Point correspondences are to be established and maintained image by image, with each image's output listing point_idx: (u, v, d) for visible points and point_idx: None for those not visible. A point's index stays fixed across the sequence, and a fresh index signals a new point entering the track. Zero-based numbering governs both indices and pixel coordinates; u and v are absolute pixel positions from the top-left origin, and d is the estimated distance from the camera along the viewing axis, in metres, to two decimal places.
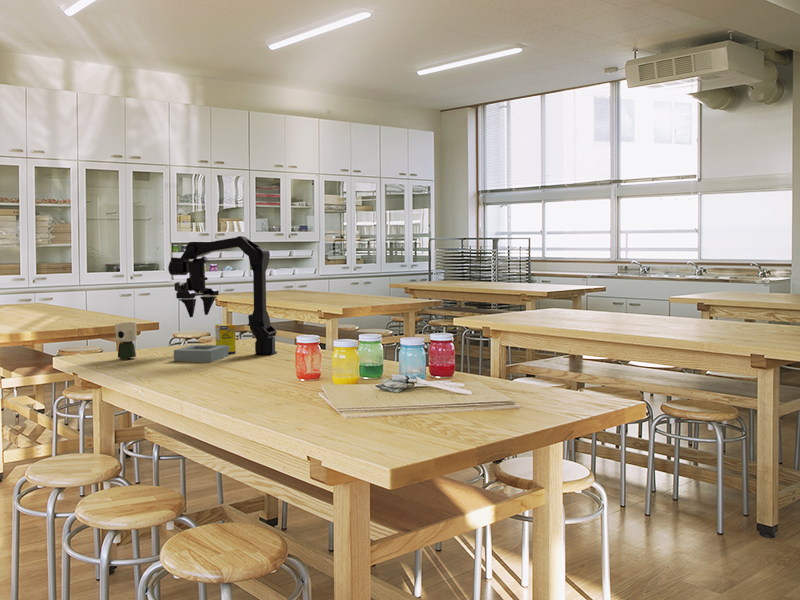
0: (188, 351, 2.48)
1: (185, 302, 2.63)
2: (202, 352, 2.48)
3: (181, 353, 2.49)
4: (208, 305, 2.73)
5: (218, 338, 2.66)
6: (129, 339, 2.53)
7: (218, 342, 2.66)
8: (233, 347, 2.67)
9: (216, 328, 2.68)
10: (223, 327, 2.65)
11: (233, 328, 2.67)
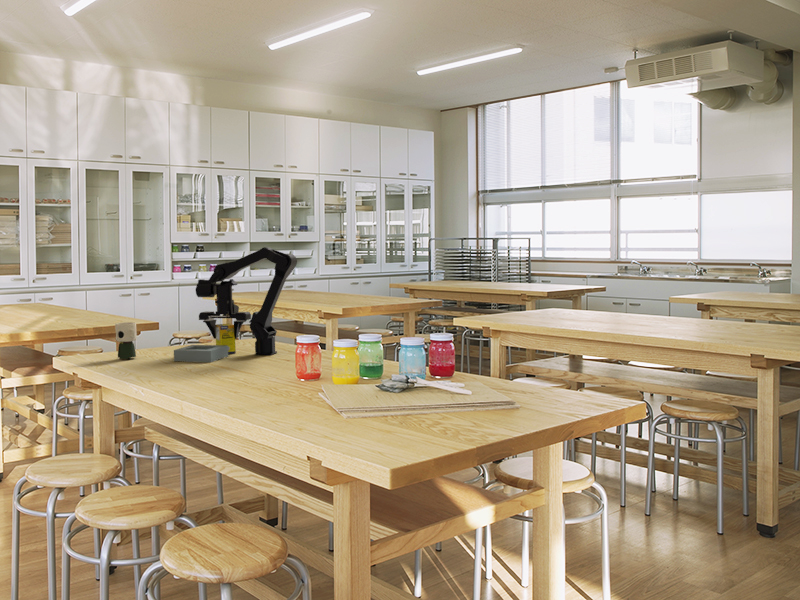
0: (188, 351, 2.48)
1: None
2: (202, 352, 2.48)
3: (181, 353, 2.49)
4: None
5: (218, 338, 2.66)
6: (129, 339, 2.53)
7: (218, 342, 2.66)
8: (233, 347, 2.67)
9: (216, 328, 2.68)
10: (223, 327, 2.65)
11: (233, 328, 2.67)
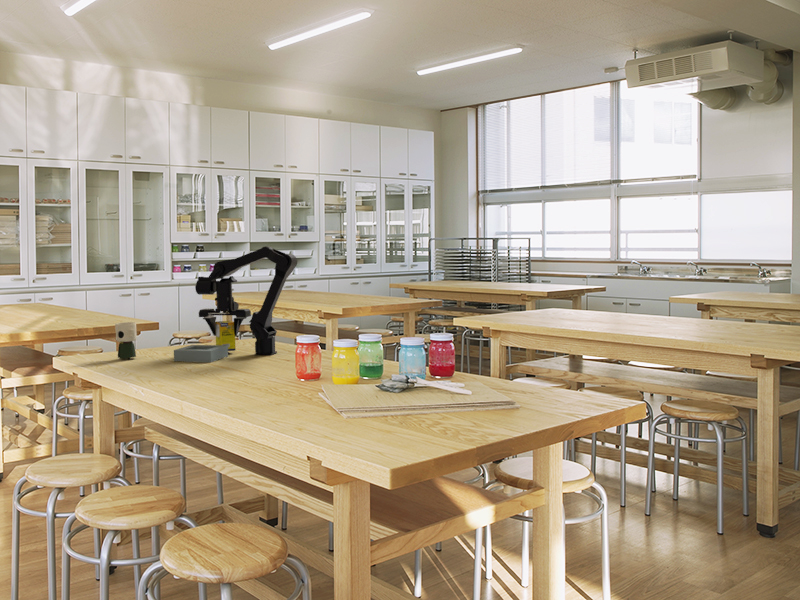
0: (188, 351, 2.48)
1: None
2: (202, 352, 2.48)
3: (181, 353, 2.49)
4: None
5: (218, 335, 2.66)
6: (129, 339, 2.53)
7: (218, 339, 2.66)
8: (233, 344, 2.67)
9: (216, 325, 2.68)
10: (223, 324, 2.64)
11: (233, 325, 2.66)
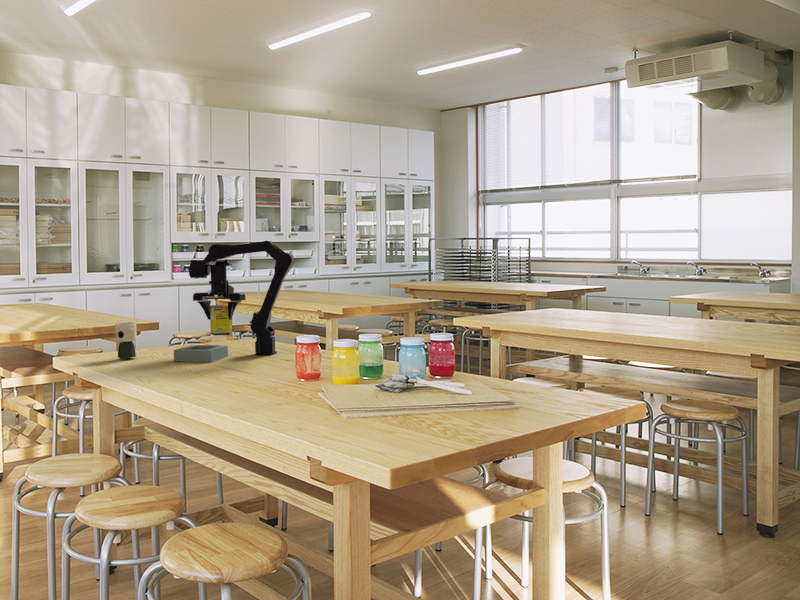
0: (188, 351, 2.48)
1: None
2: (202, 352, 2.48)
3: (181, 353, 2.49)
4: None
5: (212, 319, 2.62)
6: (129, 339, 2.53)
7: (212, 323, 2.63)
8: (227, 328, 2.63)
9: (210, 308, 2.65)
10: (217, 308, 2.61)
11: (227, 309, 2.63)
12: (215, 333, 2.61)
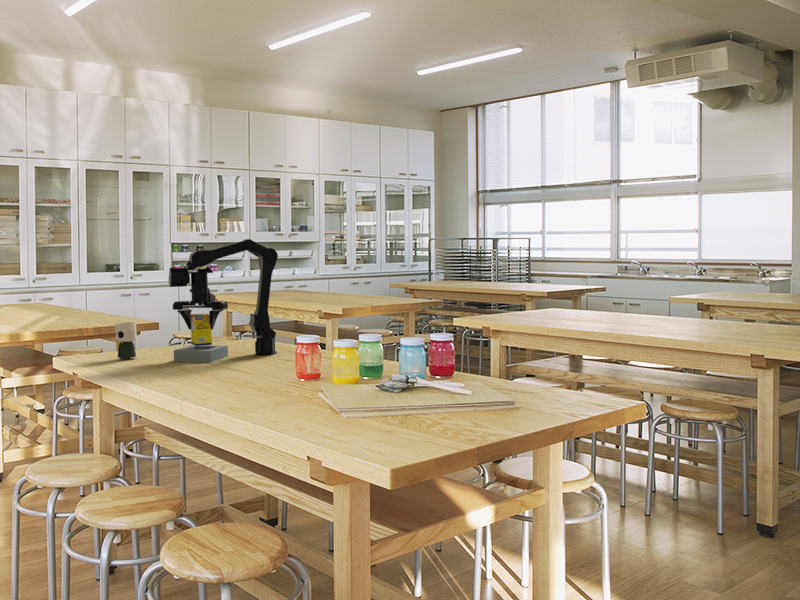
0: (188, 351, 2.48)
1: None
2: (202, 352, 2.48)
3: (181, 353, 2.49)
4: None
5: (193, 328, 2.52)
6: (129, 339, 2.53)
7: (193, 333, 2.52)
8: (209, 338, 2.53)
9: (191, 318, 2.55)
10: (198, 317, 2.51)
11: (209, 318, 2.53)
12: (196, 343, 2.51)
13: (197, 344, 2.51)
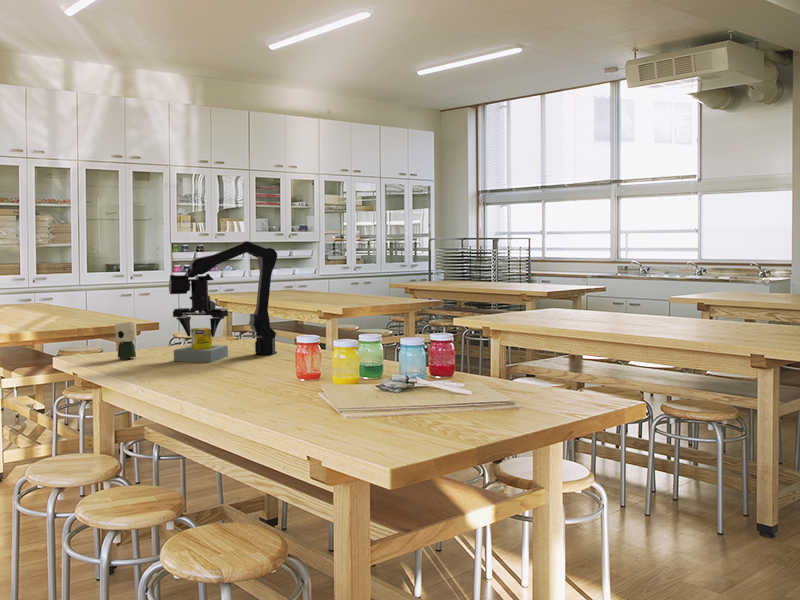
0: (188, 351, 2.48)
1: None
2: (202, 352, 2.48)
3: (181, 353, 2.49)
4: None
5: (193, 343, 2.53)
6: (129, 339, 2.53)
7: (193, 347, 2.53)
8: None
9: (191, 332, 2.55)
10: (199, 331, 2.51)
11: (209, 332, 2.53)
12: None
13: None
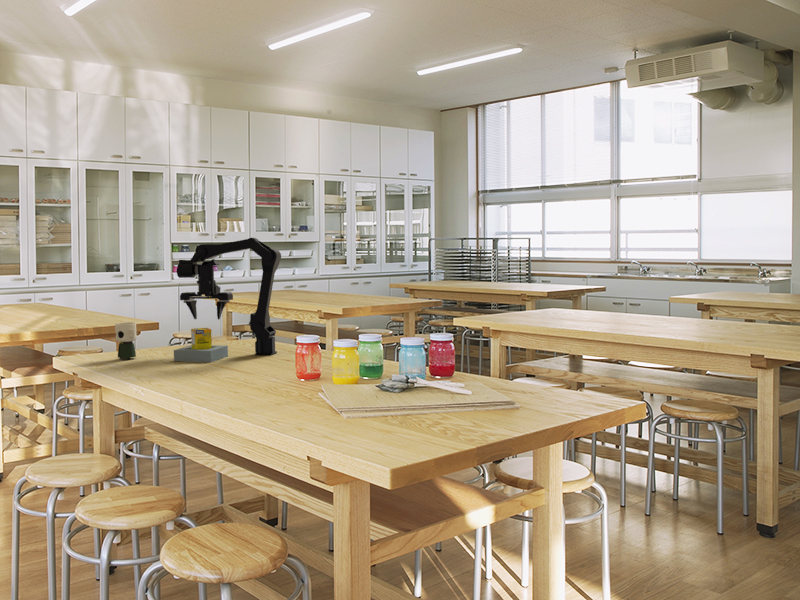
0: (188, 351, 2.48)
1: None
2: (202, 352, 2.48)
3: (181, 353, 2.49)
4: None
5: (193, 343, 2.53)
6: (129, 339, 2.53)
7: (193, 347, 2.53)
8: None
9: (191, 332, 2.55)
10: (199, 331, 2.51)
11: (209, 332, 2.53)
12: None
13: None
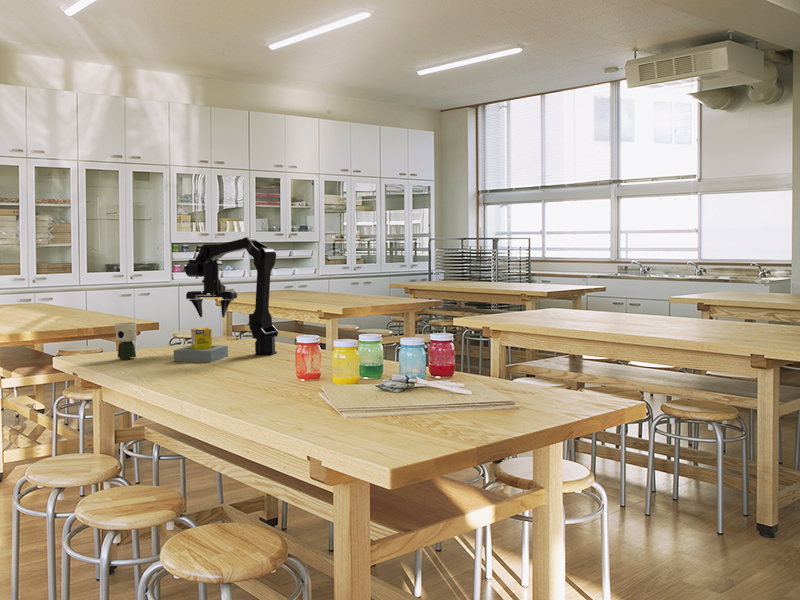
0: (188, 351, 2.48)
1: None
2: (202, 352, 2.48)
3: (181, 353, 2.49)
4: None
5: (193, 343, 2.53)
6: (129, 339, 2.53)
7: (193, 347, 2.53)
8: None
9: (191, 332, 2.55)
10: (199, 331, 2.51)
11: (209, 332, 2.53)
12: None
13: None
